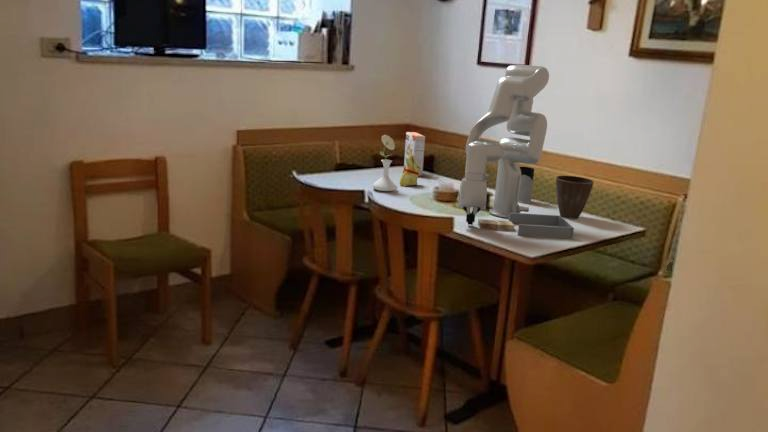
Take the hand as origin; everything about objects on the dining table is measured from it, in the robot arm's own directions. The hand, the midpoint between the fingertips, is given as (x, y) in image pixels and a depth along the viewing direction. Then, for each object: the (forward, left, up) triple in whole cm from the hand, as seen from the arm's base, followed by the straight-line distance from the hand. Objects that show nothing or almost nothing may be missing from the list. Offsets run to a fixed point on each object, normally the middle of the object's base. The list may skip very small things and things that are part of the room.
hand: (470, 223), depth 251 cm
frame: (-26, 0, -1) cm, 27 cm away
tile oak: (-13, 0, -1) cm, 13 cm away
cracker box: (+16, -99, -1) cm, 100 cm away
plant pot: (-45, -25, -1) cm, 52 cm away
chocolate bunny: (+20, -70, -1) cm, 73 cm away
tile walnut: (-6, 0, -1) cm, 7 cm away
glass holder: (-32, -52, -1) cm, 61 cm away
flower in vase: (+32, -55, -1) cm, 63 cm away
